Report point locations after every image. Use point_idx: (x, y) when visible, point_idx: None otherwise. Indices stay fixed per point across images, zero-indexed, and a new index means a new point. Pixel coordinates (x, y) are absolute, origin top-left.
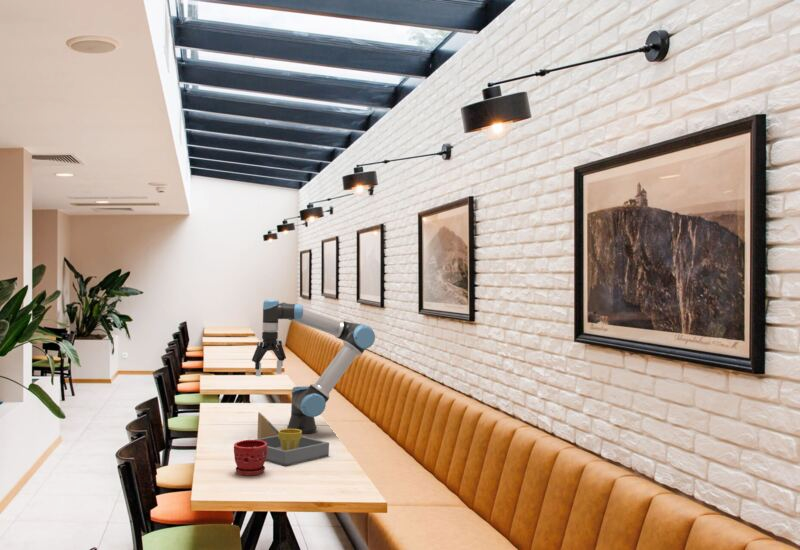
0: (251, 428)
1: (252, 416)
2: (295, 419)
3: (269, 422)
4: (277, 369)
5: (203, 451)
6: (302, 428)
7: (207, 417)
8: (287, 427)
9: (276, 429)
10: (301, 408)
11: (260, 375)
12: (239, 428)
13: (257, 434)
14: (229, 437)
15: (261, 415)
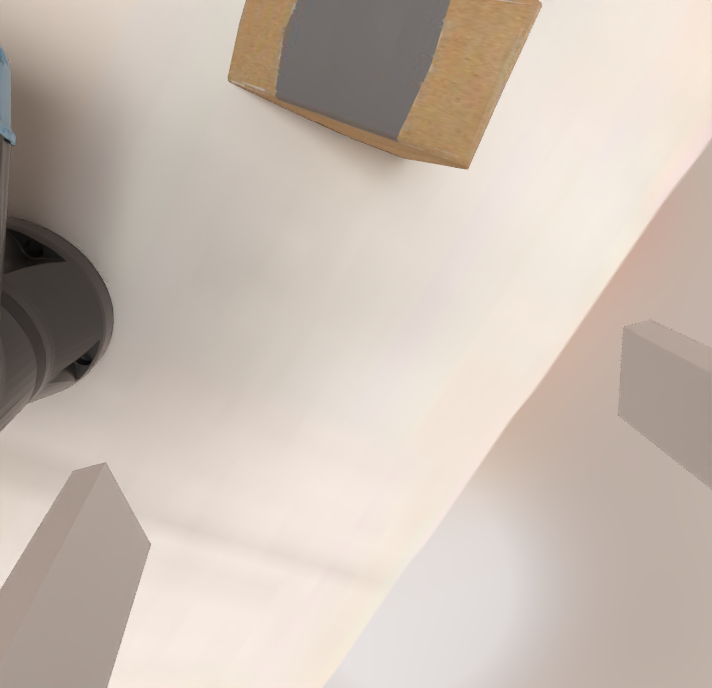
0: (259, 464)
1: (142, 655)
2: (44, 304)
3: (429, 23)
4: (117, 597)
5: (704, 139)
6: (25, 251)
7: (324, 674)
8: (104, 341)
9: (360, 16)
10: (9, 105)
11: (643, 330)
12: (310, 482)
13: (418, 160)
14: (446, 343)
15: (541, 4)
